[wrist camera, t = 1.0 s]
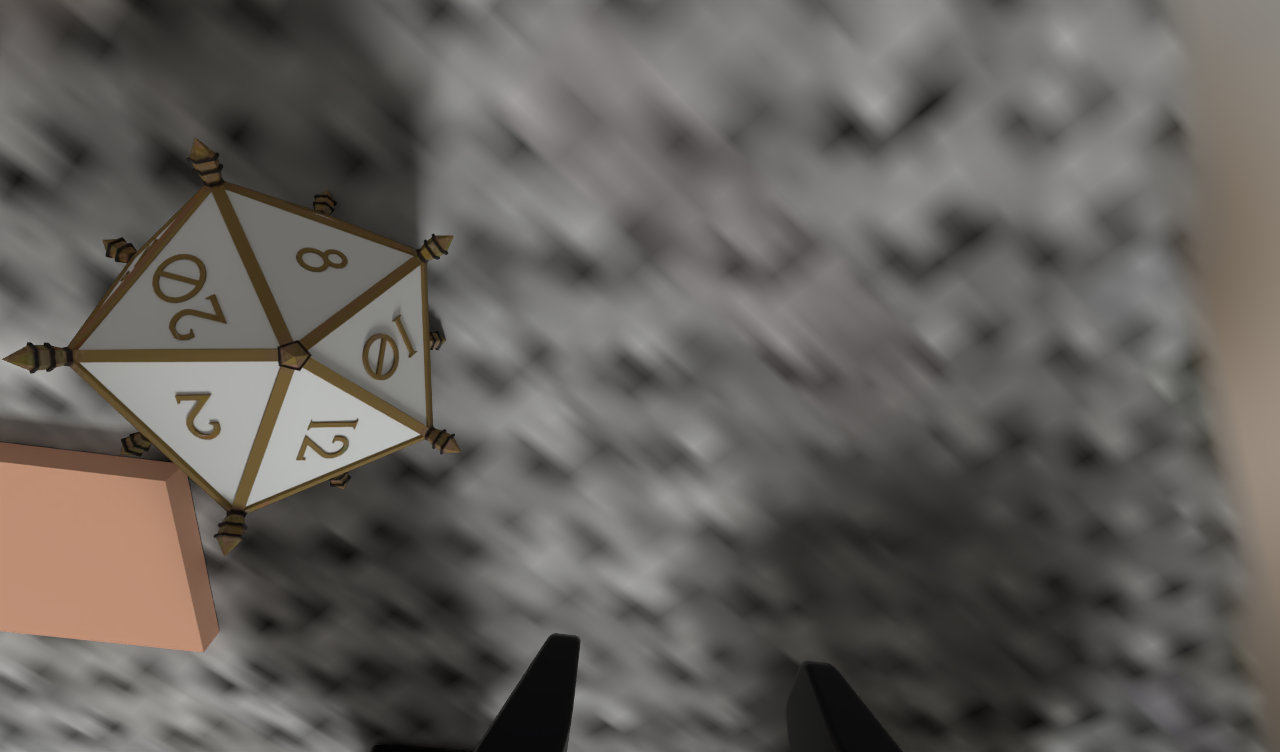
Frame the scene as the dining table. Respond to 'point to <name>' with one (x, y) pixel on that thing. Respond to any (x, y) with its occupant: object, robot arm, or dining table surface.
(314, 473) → the game die
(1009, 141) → the dining table surface
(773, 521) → the dining table surface
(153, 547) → the tile
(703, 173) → the dining table surface
